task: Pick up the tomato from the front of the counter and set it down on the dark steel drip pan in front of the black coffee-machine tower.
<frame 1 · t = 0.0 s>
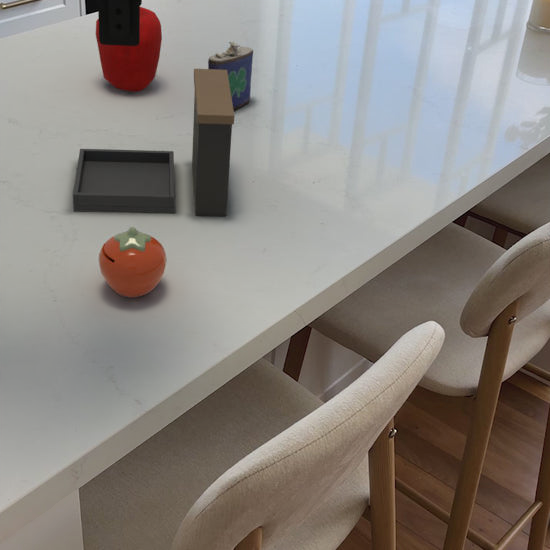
hand: (121, 23, 75), 33 cm above the kitchen island, tool pointing down, fingers open, 9 cm apart
machine tower: (208, 189, 120), on the kitchen island
tomato: (133, 289, 100), on the kitchen island
drip pan: (125, 187, 118), on the kitchen island
flask: (228, 108, 142), on the kitchen island
apple: (129, 87, 146), on the kitchen island
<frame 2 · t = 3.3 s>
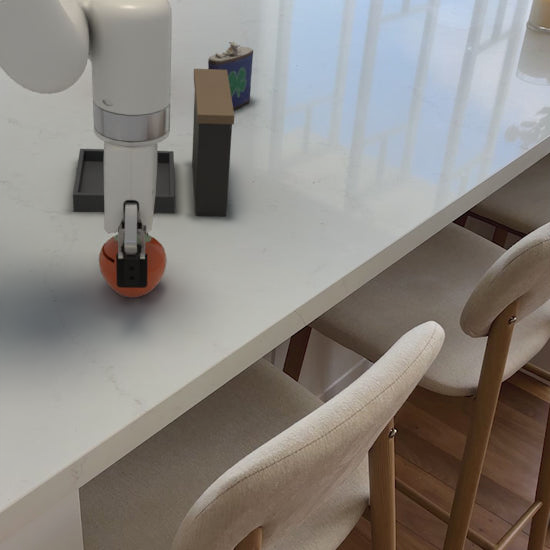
hand: (133, 263, 98), 3 cm above the kitchen island, tool pointing down, fingers closed on tomato, 7 cm apart
tomato: (133, 289, 100), on the kitchen island, touching gripper
everything else where it was.
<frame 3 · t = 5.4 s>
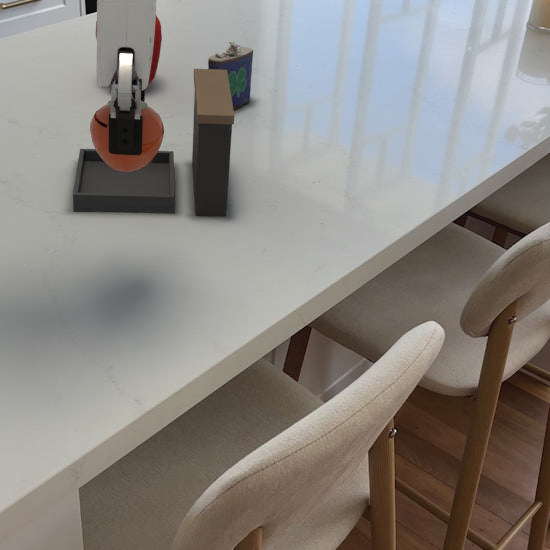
hand: (127, 133, 90), 19 cm above the kitchen island, tool pointing down, fingers closed on tomato, 7 cm apart
tomato: (126, 165, 92), point 15 cm above the kitchen island, touching gripper
everything else where it was.
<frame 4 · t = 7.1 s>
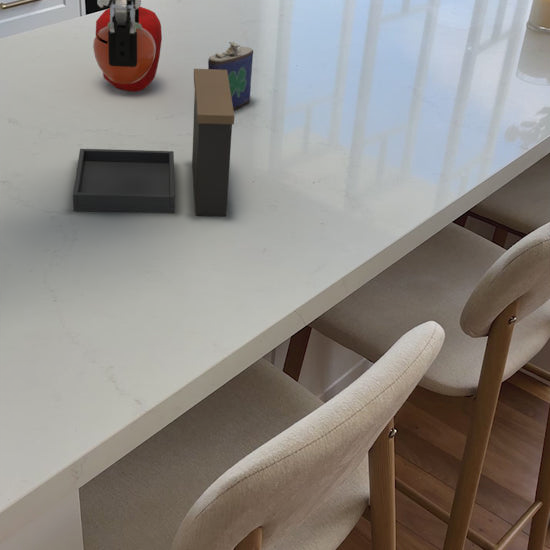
hand: (124, 51, 106), 19 cm above the kitchen island, tool pointing down, fingers closed on tomato, 7 cm apart
tomato: (124, 79, 108), point 16 cm above the kitchen island, touching gripper
everything else where it was.
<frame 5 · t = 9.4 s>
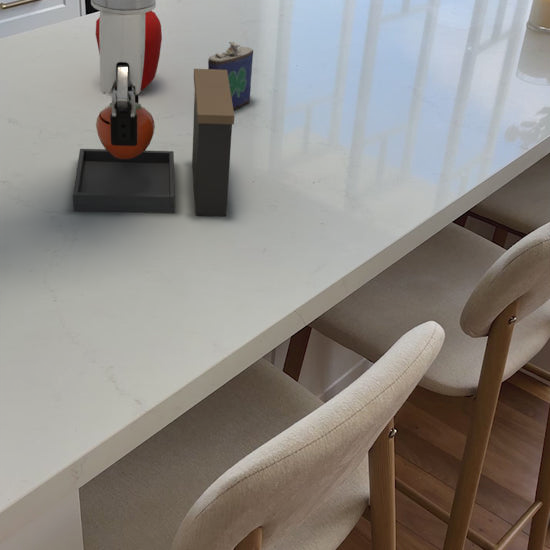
hand: (125, 129, 113), 8 cm above the kitchen island, tool pointing down, fingers closed on tomato, 7 cm apart
tomato: (125, 154, 115), point 5 cm above the kitchen island, touching gripper
everything else where it was.
when the fingers open (4 cm above the kitchen island, at t = 11.0 s): tomato stays where it is, resting on drip pan.
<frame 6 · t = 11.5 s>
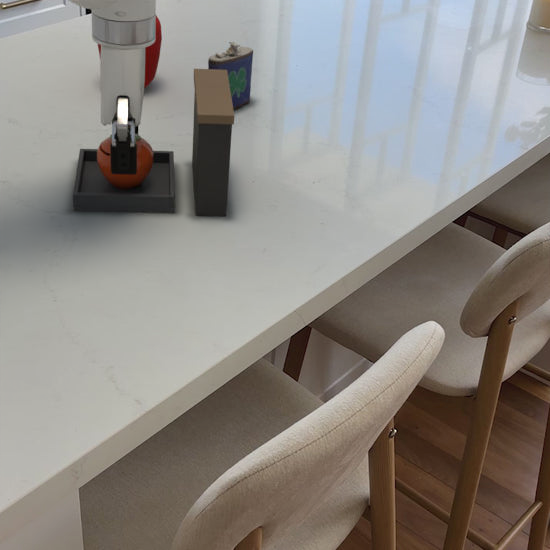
hand: (125, 155, 115), 5 cm above the kitchen island, tool pointing down, fingers open, 9 cm apart
tomato: (125, 183, 118), point 1 cm above the kitchen island, touching drip pan
everything else where it was.
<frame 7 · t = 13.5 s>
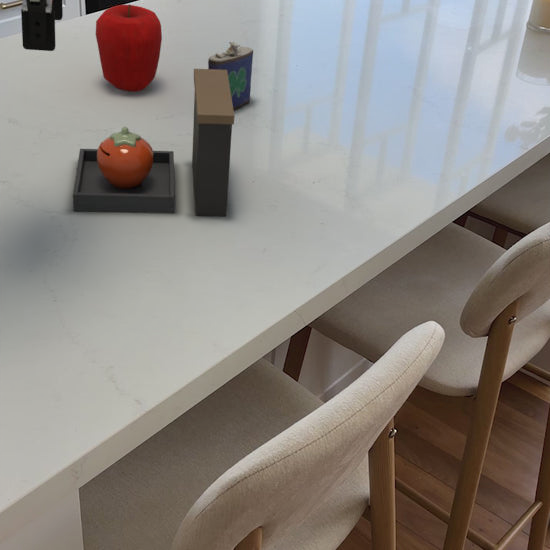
hand: (43, 33, 95), 25 cm above the kitchen island, tool pointing down, fingers open, 9 cm apart
nothing on the kitchen island moved.
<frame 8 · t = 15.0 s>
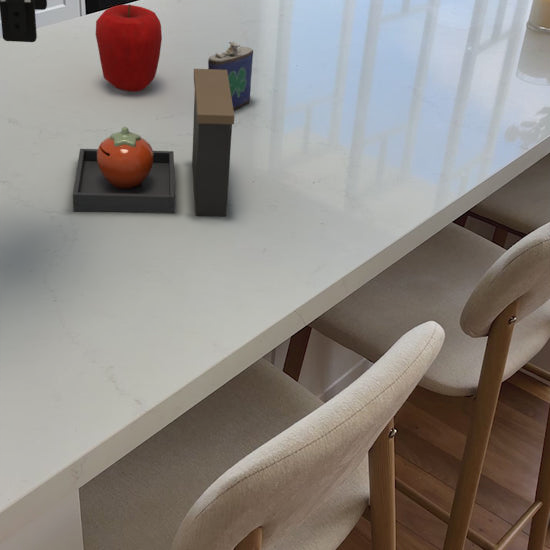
hand: (26, 23, 92), 26 cm above the kitchen island, tool pointing down, fingers open, 9 cm apart
nothing on the kitchen island moved.
at the end: tomato inside the target area in the drip pan (0.0 cm from its centre), point 0.6 cm above the drip pan's base; the gripper is holding nothing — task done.
